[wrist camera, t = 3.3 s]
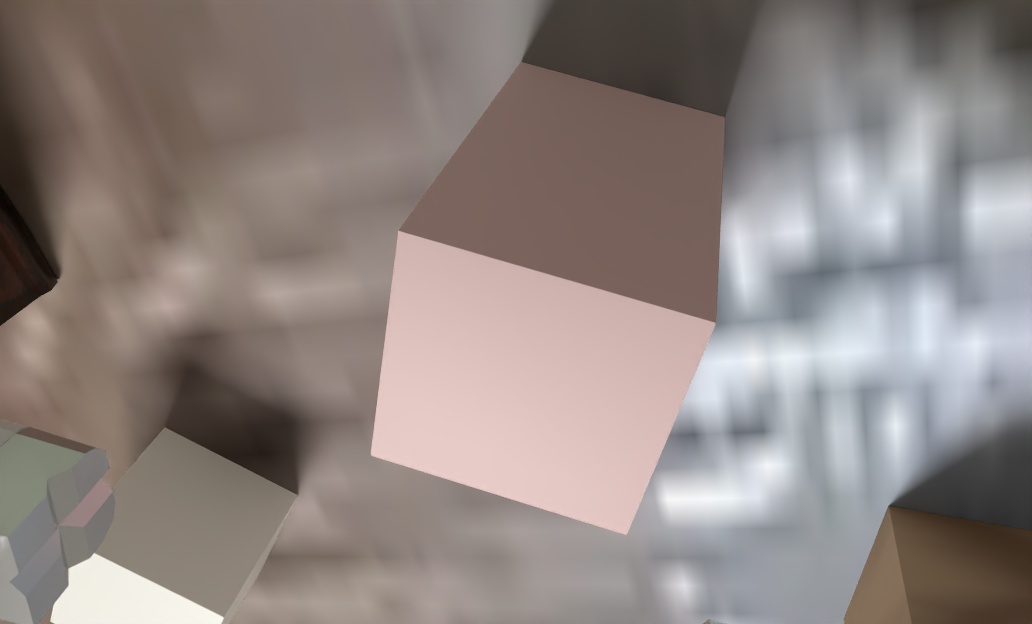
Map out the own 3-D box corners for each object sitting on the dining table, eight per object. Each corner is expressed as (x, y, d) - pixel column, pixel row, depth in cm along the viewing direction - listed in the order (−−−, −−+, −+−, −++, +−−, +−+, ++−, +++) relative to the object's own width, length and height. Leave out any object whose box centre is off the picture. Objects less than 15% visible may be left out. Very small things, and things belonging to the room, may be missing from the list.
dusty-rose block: (725, 117, 18) (716, 322, 11) (662, 289, 20) (626, 535, 14) (521, 61, 18) (399, 230, 12) (486, 237, 21) (370, 455, 14)
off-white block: (298, 493, 28) (223, 617, 24) (262, 568, 31) (190, 689, 27) (165, 425, 28) (67, 539, 24) (141, 507, 31) (50, 621, 27)
